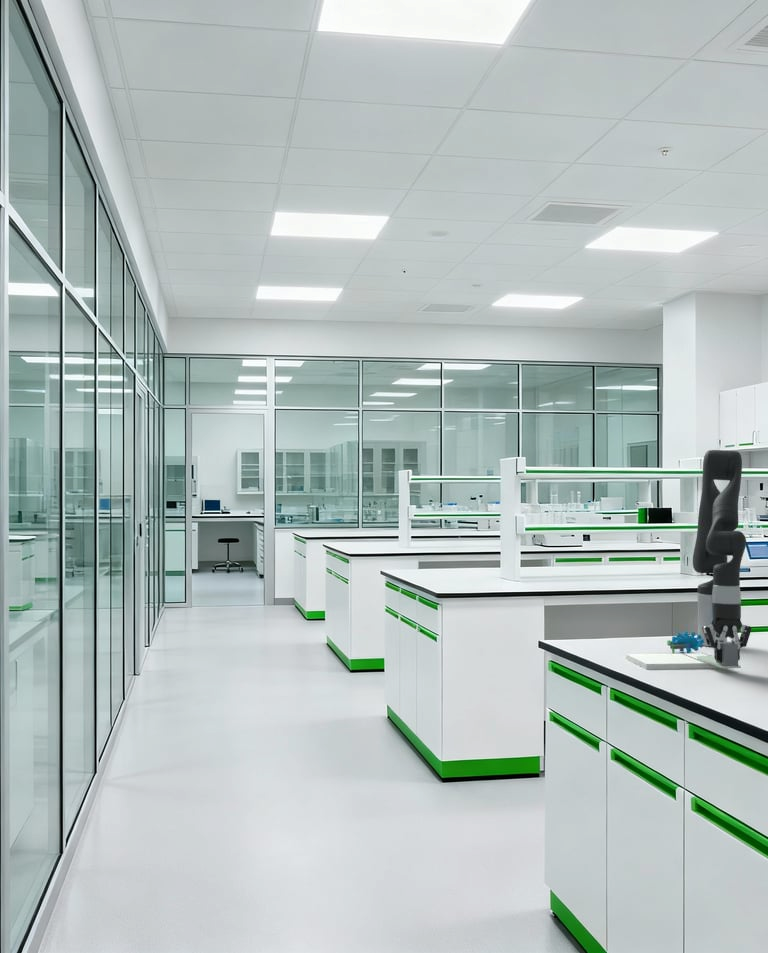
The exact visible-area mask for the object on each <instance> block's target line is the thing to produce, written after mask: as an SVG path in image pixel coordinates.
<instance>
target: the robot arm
mask: <svg viewBox="0 0 768 953" xmlns="http://www.w3.org/2000/svg"><path fill="white" fill-rule="evenodd" d="M742 471H743V458H742V455H741V453H740V452H739V451H736V450H728V449H727V450H724V449H712V450H711V449H709V450H707V451H706V452H705V454H704V456H703V460H702V478H701V479H702V480H701V482H702V484H701V495H700V501H699V502H700V503H699V509H698V517H697V518H698V520H697V531H696V532H697V533H696V538H695V544H694V549H693V555H692V568H693V570H694V571H695V572H696V573H699V574H712V579H710V580H709V581H706V582H703V583H700V584H698V586H697V635H701V637H702V638H701V639H703V640H704V643H702V644H703V647H711V648H713V650H714V655H713V656H714V658H715V660H716V661H717V662H719V663H722V650H721V647H722V643H723V642H728V638H729V640H730V642H732V643H735V644H738V661H740V660H741V655H740V654H741V652H740V651H741V648H745V647H747V645H748V642H749V638H750V635H751V632H752V626H749V625H747V624H743V623H742V621H741V620H742V619H741V618H742V594H741V588H740V587H741V586H740V585H741V584H740V578H741V576H740V573H741V563H742V560H743V556H744V552H745V549H746V546H747V537H746V535H745V534H744V533H743V532H742V531H739V530H737V528H738V527H739V500H740V498H739V497H740V491H741V482H742V473H743V472H742ZM715 480H716V481H729V482H728V484H727V485H726V487H725V488H723V490H722V491H721V492H720V490H719V489H718V487H717V485H716V483H715ZM728 556H732V558H731V559H730V560H729V561H728ZM739 631H740V633H741V634H740V635H739ZM699 640H700V639H699ZM699 640H697V641H699Z"/></svg>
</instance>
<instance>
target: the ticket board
mask: <svg viewBox="0 0 768 953" xmlns="http://www.w3.org/2000/svg"><path fill="white" fill-rule="evenodd" d="M697 656H708V655H707V654H704V653H701V652H700V653H699V652H697V653H693V652H692V653H691V652H690V653H689V654H687V653H683V652H681V653H675V654H672V653H637V654H636V653H626V655H625V659H626V660H627V661H628V662H631V663H633V664H634V665H637V666H639V667H642V668H643V669H645V670H678V669H679V670H682V669H683V670H684V669H687V670H688V669H691V670H694V669H695V670H696V669H700V670H701V669H721V668H720V667H717V666H715V665H712V664H710V663H708V662H705V661H703V660H700V659H698V658H697Z"/></svg>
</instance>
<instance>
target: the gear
mask: <svg viewBox="0 0 768 953" xmlns="http://www.w3.org/2000/svg"><path fill="white" fill-rule="evenodd" d="M688 633H689V632H688V631H687V630H686V631H683V632H682V634H681V633H680V632H677V633H676V634H675V635H676V636H674V635H673V636H672V637H671V640H670V639H668V640H667V646H670V647H669V648H670V650H671V654H676V652H675V651H676V650H678V649H679V652H681V653H683V652H684V651H685V649H686V654H689V653H691V652H692V650H694V651H696V652H697V651H699V648H700V649H701V648H703V647H704V645H703V644H702V643H704V640H703V639H701V638H702V637H701V635H698V634H697V635H696V632H694V631H691V632H690V634H688ZM695 636H696V637H695ZM699 639H700V640H699ZM698 640H699V641H698Z"/></svg>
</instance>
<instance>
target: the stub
mask: <svg viewBox="0 0 768 953" xmlns="http://www.w3.org/2000/svg"><path fill="white" fill-rule="evenodd" d="M721 650H722V663H719V662H717V661H716V660H715V658H714V655H707V656H697V658H698V659H700V660H703V661H705V662H708V663H710V664H712V665H715V666H717V667H720V668H719V669H741V665H739V660H738V644H735V643H732V642H731V641H727V642H723V643H722V647H721Z"/></svg>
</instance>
